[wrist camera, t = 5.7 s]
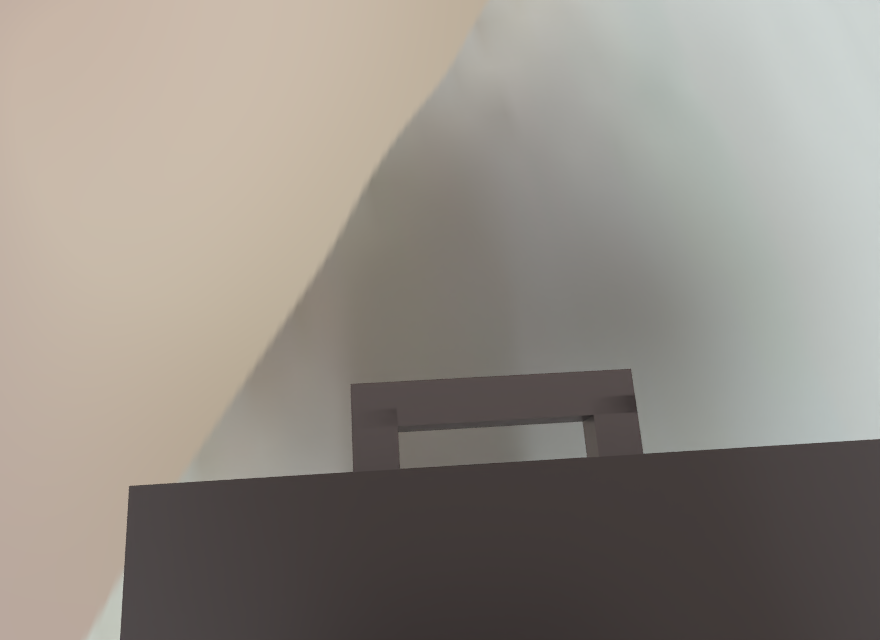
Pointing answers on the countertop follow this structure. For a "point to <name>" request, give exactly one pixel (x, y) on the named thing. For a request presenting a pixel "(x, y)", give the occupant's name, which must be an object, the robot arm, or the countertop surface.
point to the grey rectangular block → (516, 534)
